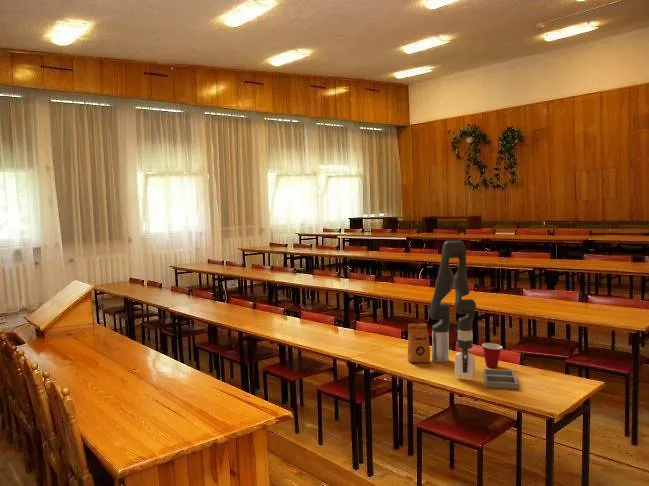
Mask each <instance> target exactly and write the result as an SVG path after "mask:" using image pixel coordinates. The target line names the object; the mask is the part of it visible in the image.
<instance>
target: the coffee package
mask: <svg viewBox="0 0 649 486" xmlns="http://www.w3.org/2000/svg"><path fill="white" fill-rule="evenodd" d="M407 327H408V333H407V342H408V343H407V360H408V361H409V363H423V364H425V363H430V360H431V347H430V339H429V333H428V324H427V323H408V326H407Z"/></svg>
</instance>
